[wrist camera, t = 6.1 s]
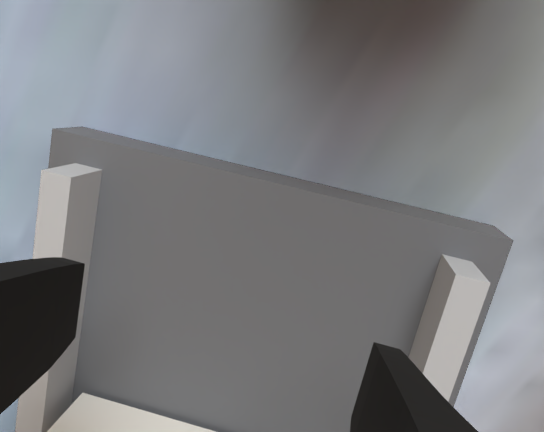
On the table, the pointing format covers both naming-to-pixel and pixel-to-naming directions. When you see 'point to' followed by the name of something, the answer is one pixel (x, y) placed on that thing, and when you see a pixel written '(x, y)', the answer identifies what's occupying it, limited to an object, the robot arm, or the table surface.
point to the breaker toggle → (115, 418)
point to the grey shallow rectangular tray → (246, 288)
